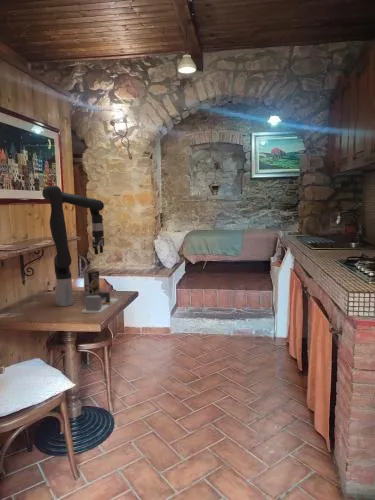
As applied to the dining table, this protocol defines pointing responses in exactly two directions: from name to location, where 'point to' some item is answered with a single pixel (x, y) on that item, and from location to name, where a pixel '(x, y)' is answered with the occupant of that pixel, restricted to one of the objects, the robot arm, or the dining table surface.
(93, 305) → the gauge base
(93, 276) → the coffee box
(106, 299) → the tall dark grey box
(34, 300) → the dining table surface
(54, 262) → the robot arm
